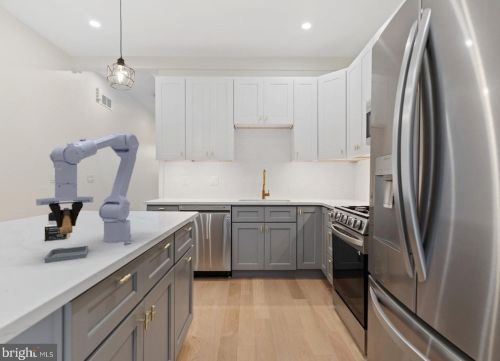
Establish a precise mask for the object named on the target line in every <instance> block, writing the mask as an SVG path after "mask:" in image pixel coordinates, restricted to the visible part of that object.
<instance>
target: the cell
mask: <svg viewBox="0 0 500 361" xmlns="http://www.w3.org/2000/svg"><path fill="white" fill-rule="evenodd" d="M60 221H61V228H60V234H68V233H70V234H72V233H73V231H74V230H73V227H74V226H72V208H69V207H64V208H63V209H60Z"/></svg>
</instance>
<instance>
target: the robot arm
mask: <svg viewBox="0 0 500 361" xmlns="http://www.w3.org/2000/svg"><path fill="white" fill-rule="evenodd" d="M139 146H140V143H139V139H138V138H137V135H136V134H134V133H126V134H125V133H124V134H123V133H121V134H110V135H109V134H108V135H105V136H103V137H101V138H98V139H95V140H91V139H86V138H80V139H79V140H78V141H76V142H68V143H66V145H65V146H63V145H62V146H61V145H60V146H56V147H54V148H53V150H52V151H51V153H49V158H50V161H51V162H52V163H53V168H54V197H46V198H45V197H44V198H43V197H42V198H36V199H35V203H36V204H35V205H36V206H47V205H48V208H49V209H50V211H51V212H52V213H53V215H54V217H55V220H56V223H57V227H58V228H61V221H60V210H62V209H61V205H67V204H71V209H72V227H76V226H77V224H76V223H77V219H78V217H79V214H80V212H81V210H82V209H83V206H84V204H85V203H91V204H92V203H94V196H78V164H80V163H81V161H82V160H85V159H87V158H90V157H92V156H94V155H96V154H97V153H98V150H101V149H105V148H108V147H109V148H111V150H112V151H113V152H114V153H115V154H116V156H117V157H119V158H120V162H119V165H118V168H117V172H116V176H115V179H114V182H113V185H112V189H111V193H110V195H109V196H107V197H106V198H105V199H103V202H102V204H101V205H100V207H99V210H98V215H99V217H100V219H102V222H103V242H104V243H106V244H107V243H108V244H114V243H121V242H123V245H128V244H129V245H130V244H131V238H132V233H131V220H130V219H127V218H128V217H129V215H130V205H131V202H130V201H129V200H128V199H127V198H126V197H127V194H128V190H129V186H130V182H131V180H132V179H131V178H132V175H133V171H134V168H135V163H136V161H137V153H138V149H139Z"/></svg>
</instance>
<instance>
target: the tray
mask: <svg viewBox="0 0 500 361" xmlns="http://www.w3.org/2000/svg"><path fill="white" fill-rule="evenodd" d="M62 248H63V249H57V248H53V249H54V250H53V249H51V250H50V251H49V253H48V254H47V255H46V256H45V257H44V264H49V263H58V262H64V261H73V260H80V259H86V258H87V256H88V252H89V245H84V246H76V247H75V246H73V247H66V248H64V247H62ZM81 251H82V253H78V254H77V253H76V254H68V255H67V253H74V252H81ZM57 254H59V256H53V255H57ZM60 254H66V255H60Z"/></svg>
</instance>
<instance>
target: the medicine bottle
mask: <svg viewBox="0 0 500 361" xmlns="http://www.w3.org/2000/svg"><path fill="white" fill-rule="evenodd" d="M47 218H48V220H47V222H48V224H46V225H45V226H44V242H49V241H51V242H52V241H62V240H68V239H69V238H71V233H68V234H60V228H58V227H57V223H56V220H55V217H54V215H53V213H52V211H51V212H49V213H48V216H47Z"/></svg>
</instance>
